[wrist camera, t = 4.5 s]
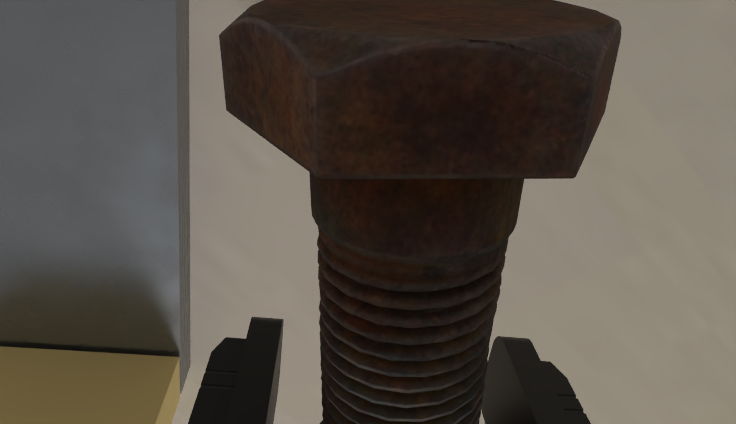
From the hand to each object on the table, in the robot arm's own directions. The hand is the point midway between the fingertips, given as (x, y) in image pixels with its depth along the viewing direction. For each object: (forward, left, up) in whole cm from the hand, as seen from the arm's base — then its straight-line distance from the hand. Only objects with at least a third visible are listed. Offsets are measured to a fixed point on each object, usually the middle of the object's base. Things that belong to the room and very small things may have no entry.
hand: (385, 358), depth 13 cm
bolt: (0, -1, -1) cm, 1 cm away
